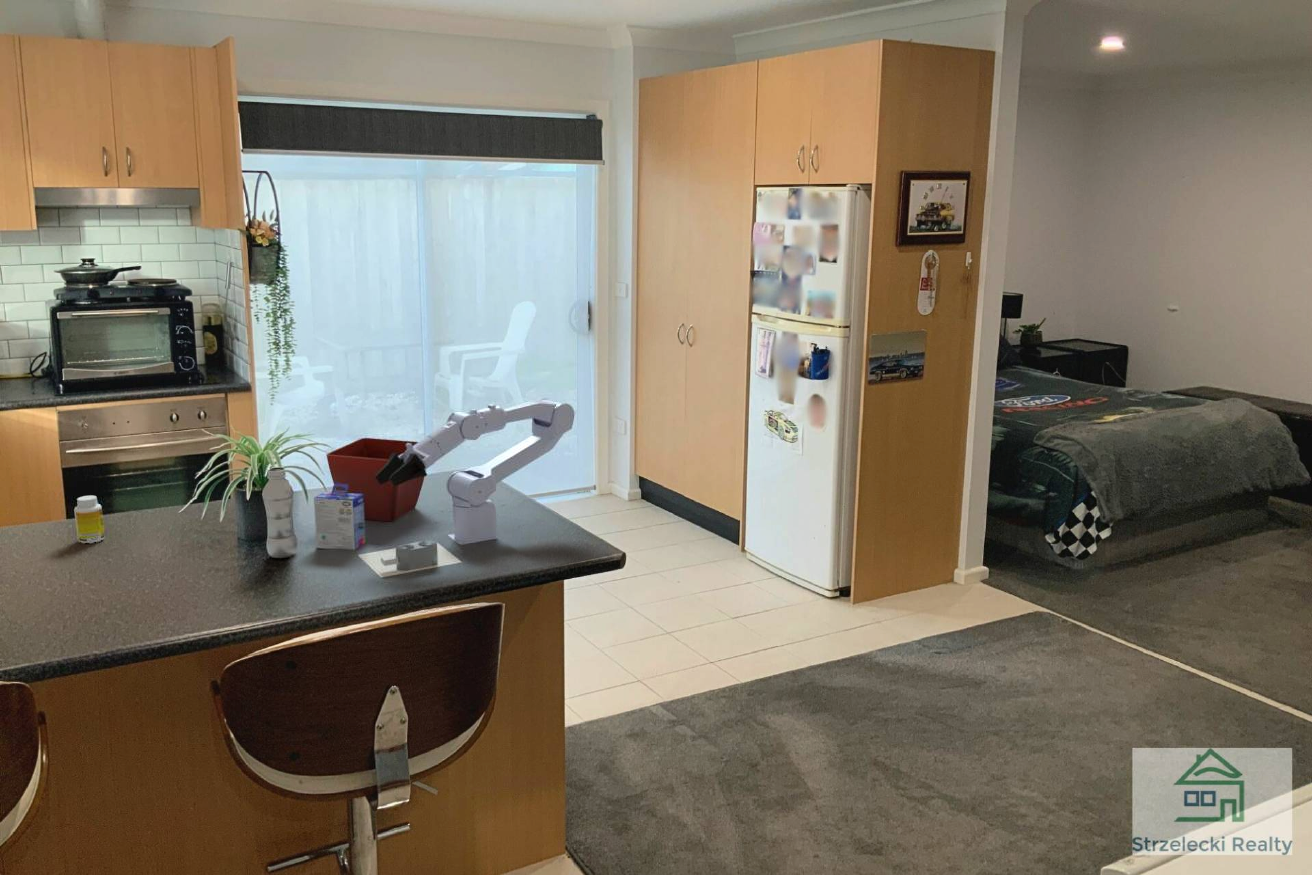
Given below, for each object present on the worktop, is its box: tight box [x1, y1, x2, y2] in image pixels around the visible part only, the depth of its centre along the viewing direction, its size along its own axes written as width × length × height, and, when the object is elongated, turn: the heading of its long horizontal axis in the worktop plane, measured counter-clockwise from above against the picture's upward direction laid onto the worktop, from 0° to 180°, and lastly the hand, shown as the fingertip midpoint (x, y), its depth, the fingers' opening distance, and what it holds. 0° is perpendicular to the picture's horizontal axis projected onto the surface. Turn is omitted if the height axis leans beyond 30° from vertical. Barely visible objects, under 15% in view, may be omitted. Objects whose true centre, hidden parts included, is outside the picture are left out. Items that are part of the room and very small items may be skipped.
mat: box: [357, 540, 463, 578], centre depth 232 cm, size 18×16×1 cm
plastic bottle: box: [261, 466, 299, 559], centre depth 231 cm, size 6×7×20 cm
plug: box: [381, 540, 438, 571], centre depth 226 cm, size 12×4×4 cm, turn 122°
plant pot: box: [326, 437, 427, 522], centre depth 263 cm, size 19×19×17 cm
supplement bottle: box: [73, 495, 106, 544], centre depth 242 cm, size 6×6×10 cm
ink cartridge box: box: [313, 483, 367, 550], centre depth 239 cm, size 10×6×14 cm, turn 78°
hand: (384, 481), depth 228 cm, fingers open, 7 cm apart
